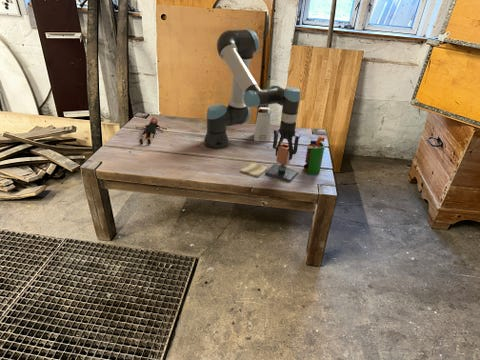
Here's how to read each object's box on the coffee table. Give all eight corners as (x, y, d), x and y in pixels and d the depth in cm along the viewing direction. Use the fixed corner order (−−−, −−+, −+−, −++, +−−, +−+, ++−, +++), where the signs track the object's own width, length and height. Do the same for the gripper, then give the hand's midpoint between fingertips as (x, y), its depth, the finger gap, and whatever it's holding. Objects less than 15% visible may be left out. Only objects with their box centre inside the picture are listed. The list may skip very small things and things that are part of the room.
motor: (301, 165, 179) (306, 132, 168) (316, 165, 180) (323, 132, 169) (305, 175, 170) (312, 140, 160) (322, 175, 171) (329, 140, 161)
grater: (270, 141, 205) (273, 111, 195) (254, 140, 205) (256, 110, 195) (269, 135, 214) (272, 106, 204) (253, 134, 214) (256, 105, 204)
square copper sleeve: (276, 162, 166) (278, 146, 161) (280, 158, 169) (282, 143, 165) (285, 165, 164) (287, 149, 159) (289, 161, 167) (291, 145, 163)
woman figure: (127, 138, 189) (138, 115, 218) (128, 147, 192) (139, 123, 221) (162, 139, 190) (169, 116, 219) (163, 148, 194) (169, 124, 223)
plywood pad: (240, 171, 170) (240, 169, 170) (249, 163, 178) (250, 161, 178) (258, 177, 166) (258, 175, 165) (267, 168, 174) (267, 167, 173)
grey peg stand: (265, 174, 169) (267, 153, 162) (274, 166, 177) (276, 145, 171) (289, 182, 163) (293, 160, 157) (297, 173, 171) (301, 152, 165)
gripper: (268, 118, 156) (264, 161, 168) (303, 127, 148) (296, 171, 160) (274, 114, 161) (270, 155, 173) (309, 122, 154) (301, 165, 166)
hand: (282, 163), depth 167 cm, fingers closed on square copper sleeve, 5 cm apart
